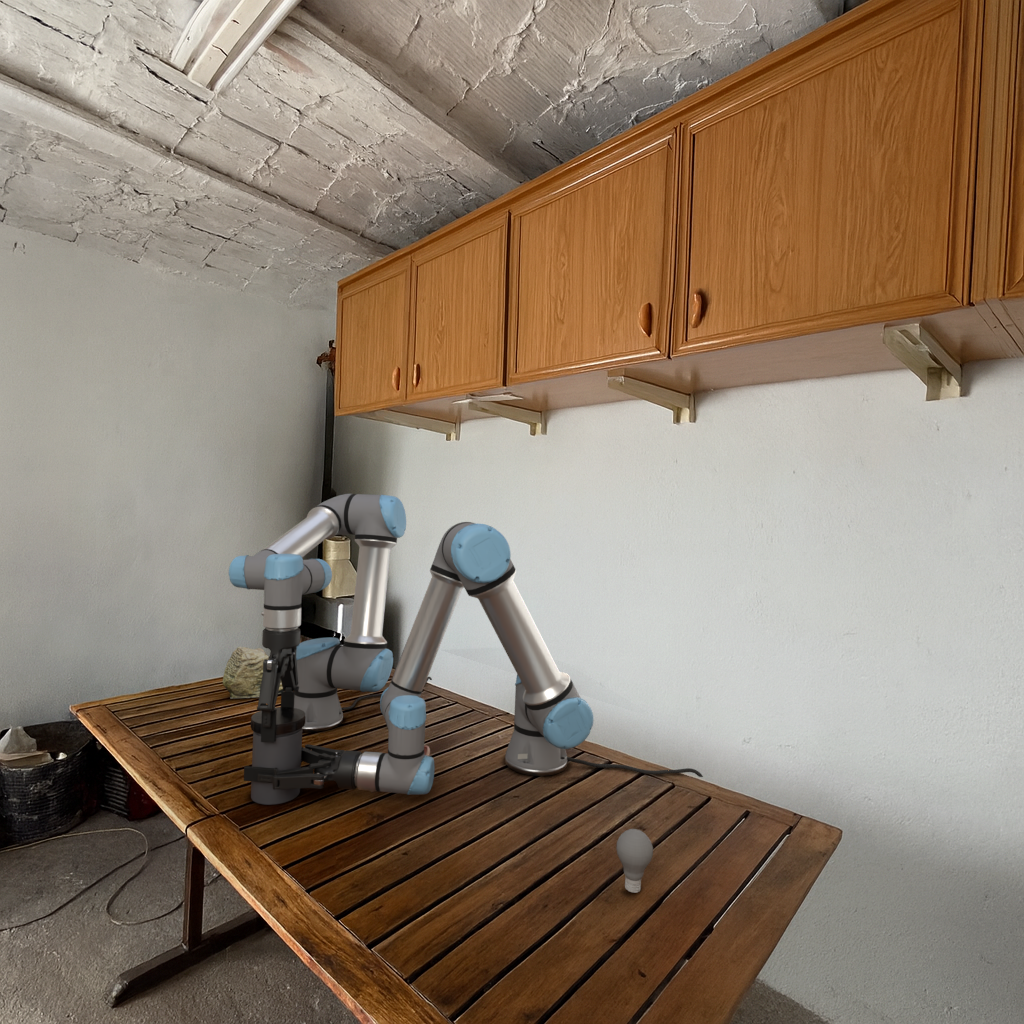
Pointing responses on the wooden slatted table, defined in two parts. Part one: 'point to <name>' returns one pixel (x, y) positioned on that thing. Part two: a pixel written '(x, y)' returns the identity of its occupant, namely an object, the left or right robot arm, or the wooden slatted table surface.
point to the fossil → (245, 673)
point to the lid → (281, 720)
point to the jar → (276, 765)
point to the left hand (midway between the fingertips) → (277, 731)
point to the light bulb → (634, 857)
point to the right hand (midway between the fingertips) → (257, 762)
